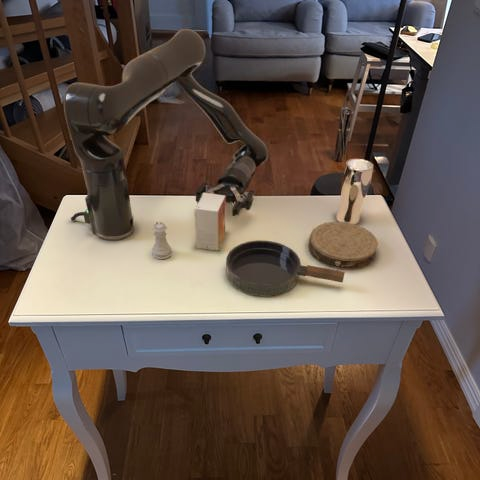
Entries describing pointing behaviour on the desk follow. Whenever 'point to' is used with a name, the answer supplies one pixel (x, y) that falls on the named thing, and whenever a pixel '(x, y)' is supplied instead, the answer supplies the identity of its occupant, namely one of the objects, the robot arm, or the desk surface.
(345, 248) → the wood slice
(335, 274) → the pan handle
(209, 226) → the small box
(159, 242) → the rook chess piece
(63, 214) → the desk surface
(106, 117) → the robot arm
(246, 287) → the pan
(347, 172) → the silver metal cup
